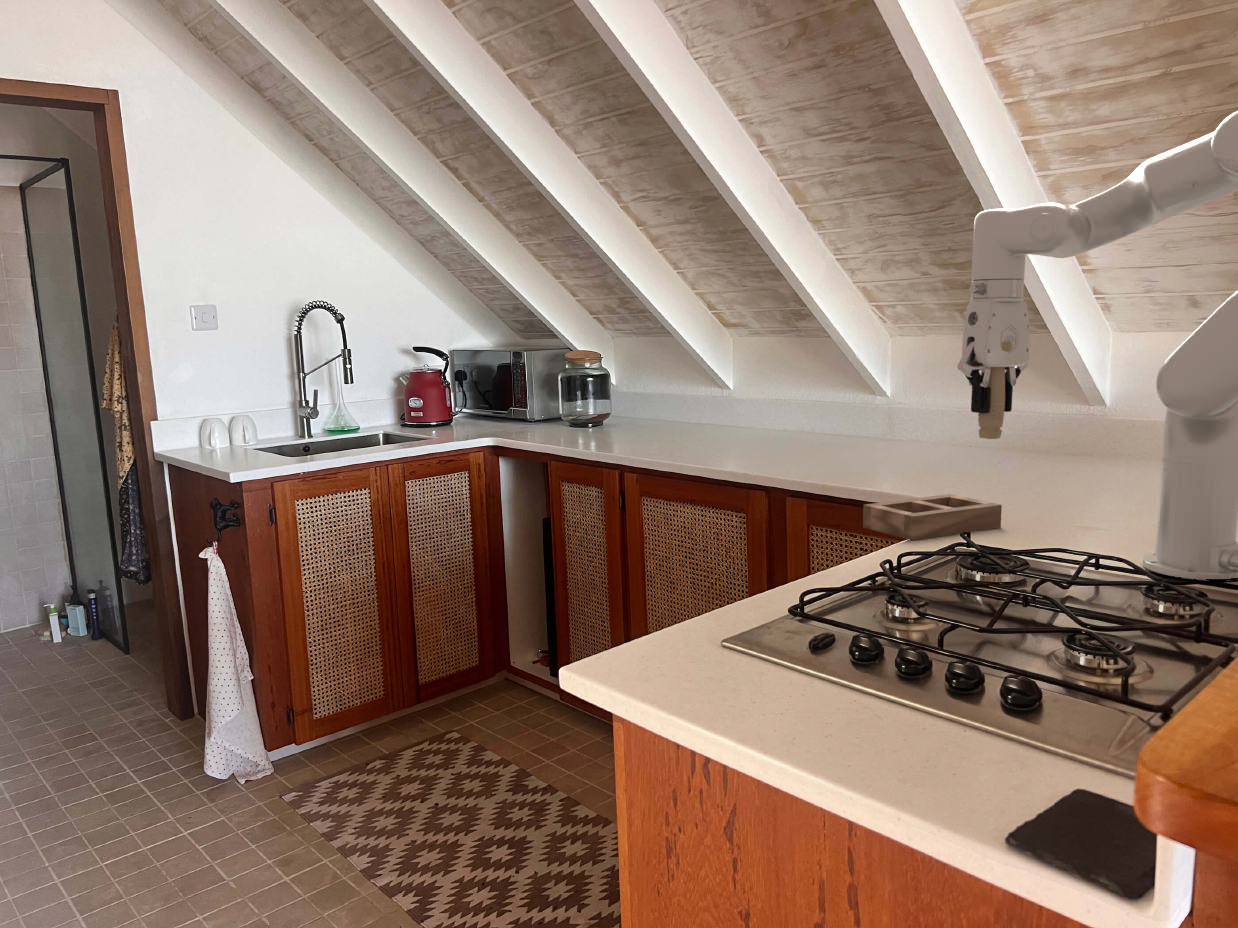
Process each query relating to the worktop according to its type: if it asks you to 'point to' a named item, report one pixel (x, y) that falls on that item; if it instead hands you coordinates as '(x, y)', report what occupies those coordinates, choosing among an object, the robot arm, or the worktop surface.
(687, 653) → the worktop surface
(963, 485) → the worktop surface
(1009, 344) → the handle
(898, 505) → the grey rectangular tray
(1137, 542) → the worktop surface
